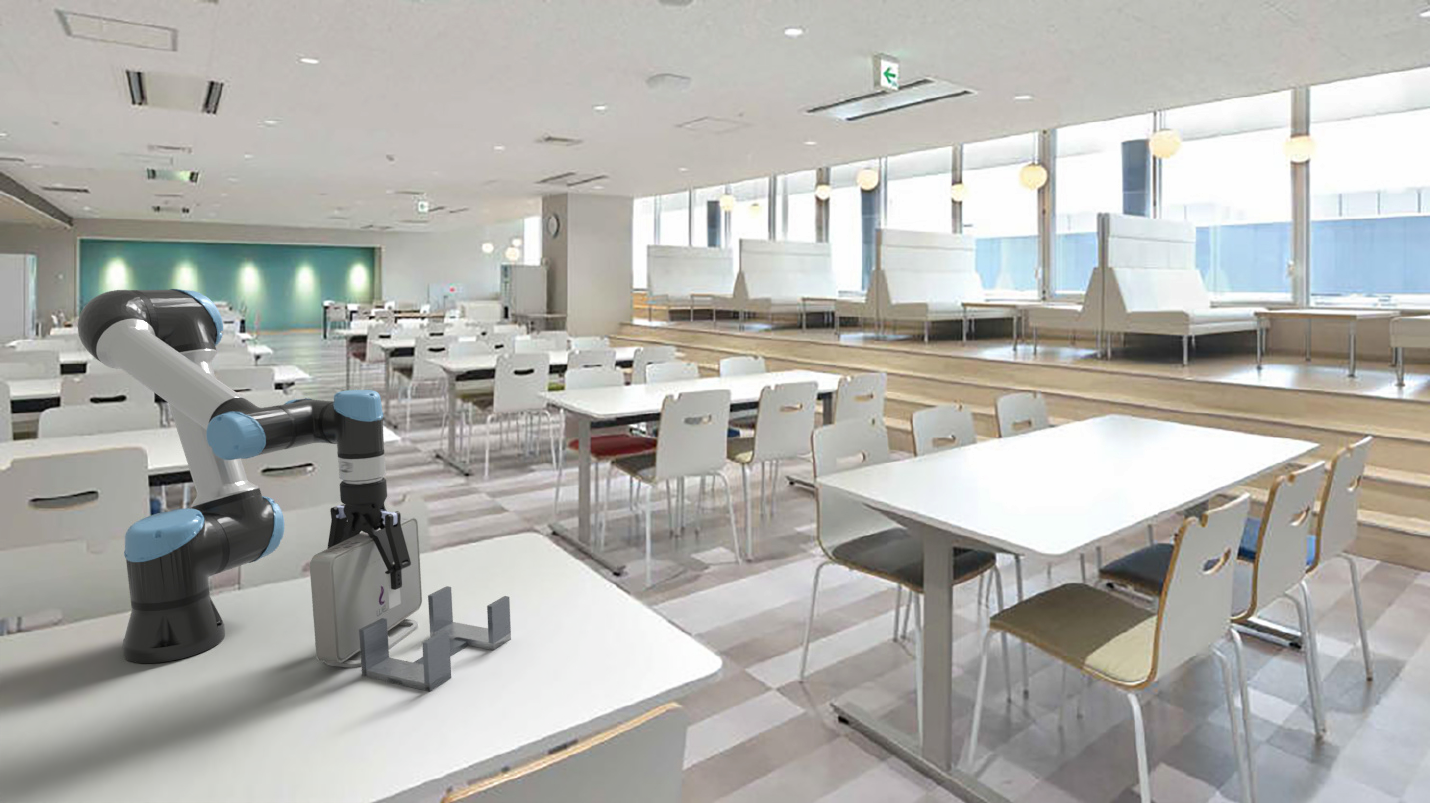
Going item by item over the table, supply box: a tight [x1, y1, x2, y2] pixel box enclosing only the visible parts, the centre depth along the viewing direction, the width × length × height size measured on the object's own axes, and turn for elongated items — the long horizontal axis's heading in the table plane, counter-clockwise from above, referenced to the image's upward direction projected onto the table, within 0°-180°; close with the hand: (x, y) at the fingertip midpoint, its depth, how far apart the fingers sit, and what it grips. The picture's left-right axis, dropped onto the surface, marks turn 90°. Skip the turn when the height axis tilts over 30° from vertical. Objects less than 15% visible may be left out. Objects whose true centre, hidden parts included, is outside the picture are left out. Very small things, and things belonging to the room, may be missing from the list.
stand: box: [359, 585, 512, 692], centre depth 141 cm, size 14×21×8 cm, turn 158°
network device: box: [309, 516, 423, 668], centre depth 146 cm, size 26×9×20 cm, turn 168°
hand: (370, 601), depth 146 cm, fingers open, 10 cm apart
